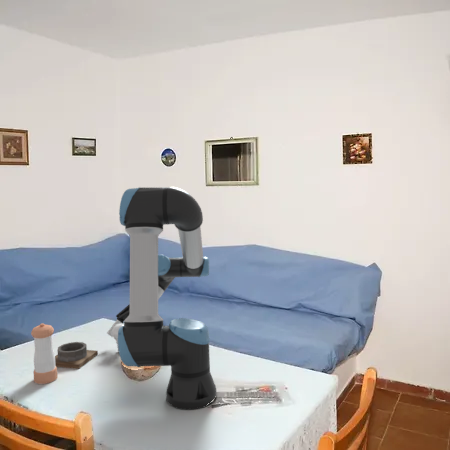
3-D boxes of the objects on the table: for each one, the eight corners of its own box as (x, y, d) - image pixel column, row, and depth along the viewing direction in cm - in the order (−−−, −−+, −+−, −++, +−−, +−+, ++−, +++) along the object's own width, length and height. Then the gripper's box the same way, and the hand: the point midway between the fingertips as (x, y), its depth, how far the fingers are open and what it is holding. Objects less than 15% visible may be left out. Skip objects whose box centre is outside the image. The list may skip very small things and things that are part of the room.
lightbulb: (112, 349, 177) (111, 322, 175) (128, 347, 178) (127, 320, 177) (113, 355, 171) (112, 327, 169) (130, 353, 172) (129, 325, 171)
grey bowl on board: (78, 368, 159) (78, 355, 159) (46, 365, 163) (45, 352, 162) (97, 354, 172) (97, 341, 171) (67, 352, 175) (66, 339, 175)
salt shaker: (47, 372, 157) (44, 319, 155) (62, 377, 153) (58, 322, 151) (29, 381, 151) (25, 325, 149) (43, 385, 147) (39, 328, 145)
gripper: (171, 307, 172) (136, 355, 165) (142, 294, 192) (110, 336, 185) (158, 296, 168) (122, 344, 161) (130, 283, 188) (97, 326, 181)
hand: (116, 340), depth 173 cm, fingers open, 13 cm apart
